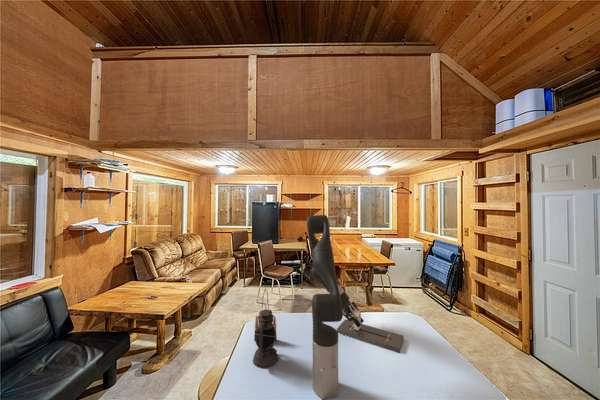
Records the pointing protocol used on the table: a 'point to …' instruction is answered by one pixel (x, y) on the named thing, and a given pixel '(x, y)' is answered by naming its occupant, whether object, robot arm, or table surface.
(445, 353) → the table surface
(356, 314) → the fader cap
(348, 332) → the grey fader track base
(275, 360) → the lantern
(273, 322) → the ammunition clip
